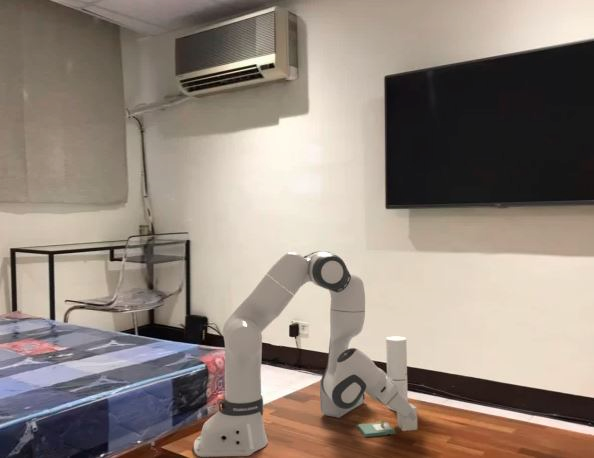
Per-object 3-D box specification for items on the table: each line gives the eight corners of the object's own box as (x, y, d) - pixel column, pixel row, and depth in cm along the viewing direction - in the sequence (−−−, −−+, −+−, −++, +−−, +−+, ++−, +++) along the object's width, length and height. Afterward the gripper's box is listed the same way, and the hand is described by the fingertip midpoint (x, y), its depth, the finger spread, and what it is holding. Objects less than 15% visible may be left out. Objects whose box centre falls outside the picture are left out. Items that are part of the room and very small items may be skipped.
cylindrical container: (410, 406, 198) (409, 337, 198) (403, 412, 192) (401, 341, 192) (392, 403, 202) (390, 335, 202) (384, 408, 196) (382, 339, 196)
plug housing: (402, 431, 175) (402, 406, 175) (397, 425, 180) (396, 401, 179) (417, 429, 176) (416, 404, 176) (411, 424, 180) (411, 400, 180)
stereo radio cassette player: (348, 399, 208) (347, 346, 208) (368, 402, 203) (366, 349, 203) (319, 416, 191) (317, 358, 190) (339, 420, 186) (338, 361, 186)
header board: (365, 436, 171) (365, 426, 171) (357, 427, 179) (357, 417, 179) (395, 433, 173) (395, 423, 173) (387, 424, 181) (386, 414, 181)
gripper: (363, 384, 186) (391, 410, 188) (383, 403, 166) (414, 432, 168) (375, 370, 186) (403, 396, 188) (397, 388, 166) (428, 417, 168)
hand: (408, 413), depth 178 cm, fingers open, 8 cm apart
